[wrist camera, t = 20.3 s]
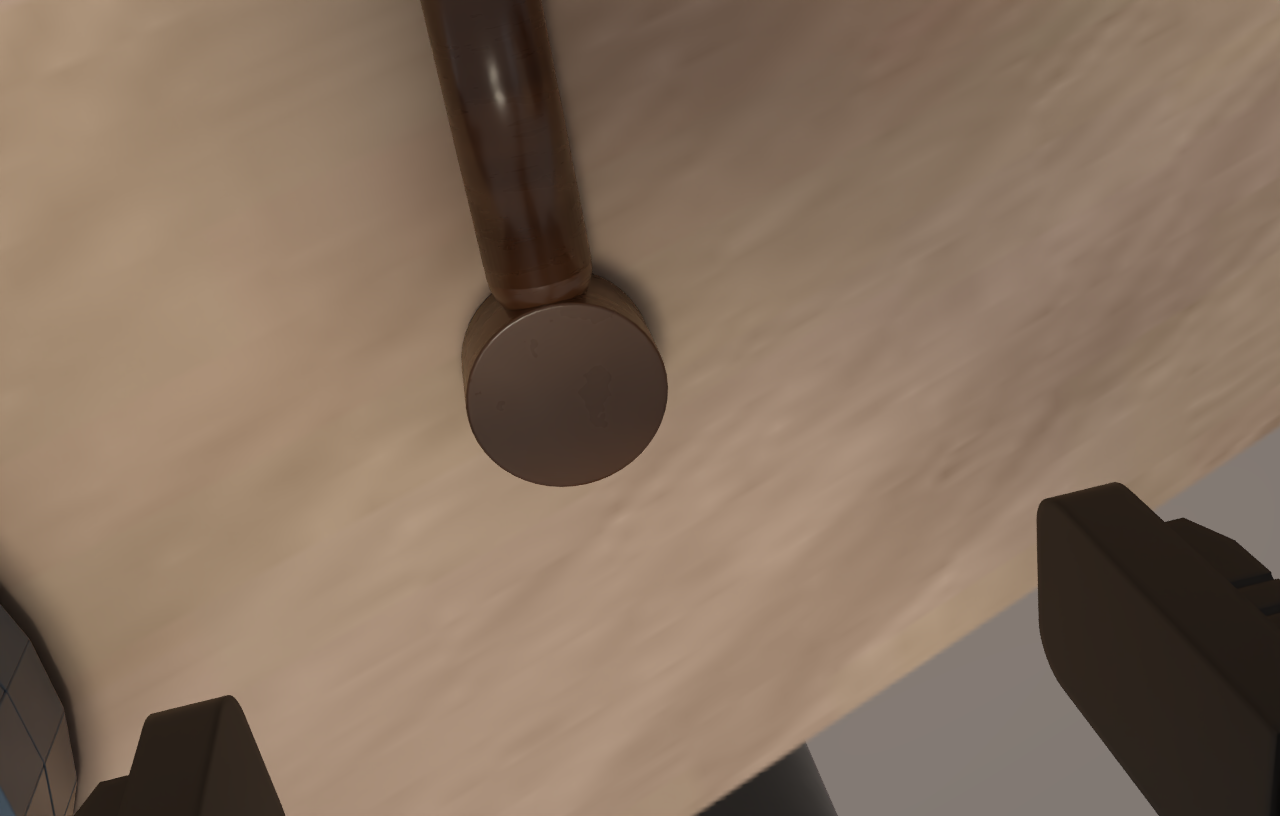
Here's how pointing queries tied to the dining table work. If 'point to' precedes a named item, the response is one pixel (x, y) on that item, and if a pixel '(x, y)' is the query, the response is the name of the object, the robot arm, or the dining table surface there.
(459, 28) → the rod with round cap
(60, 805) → the bowl
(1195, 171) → the dining table surface
